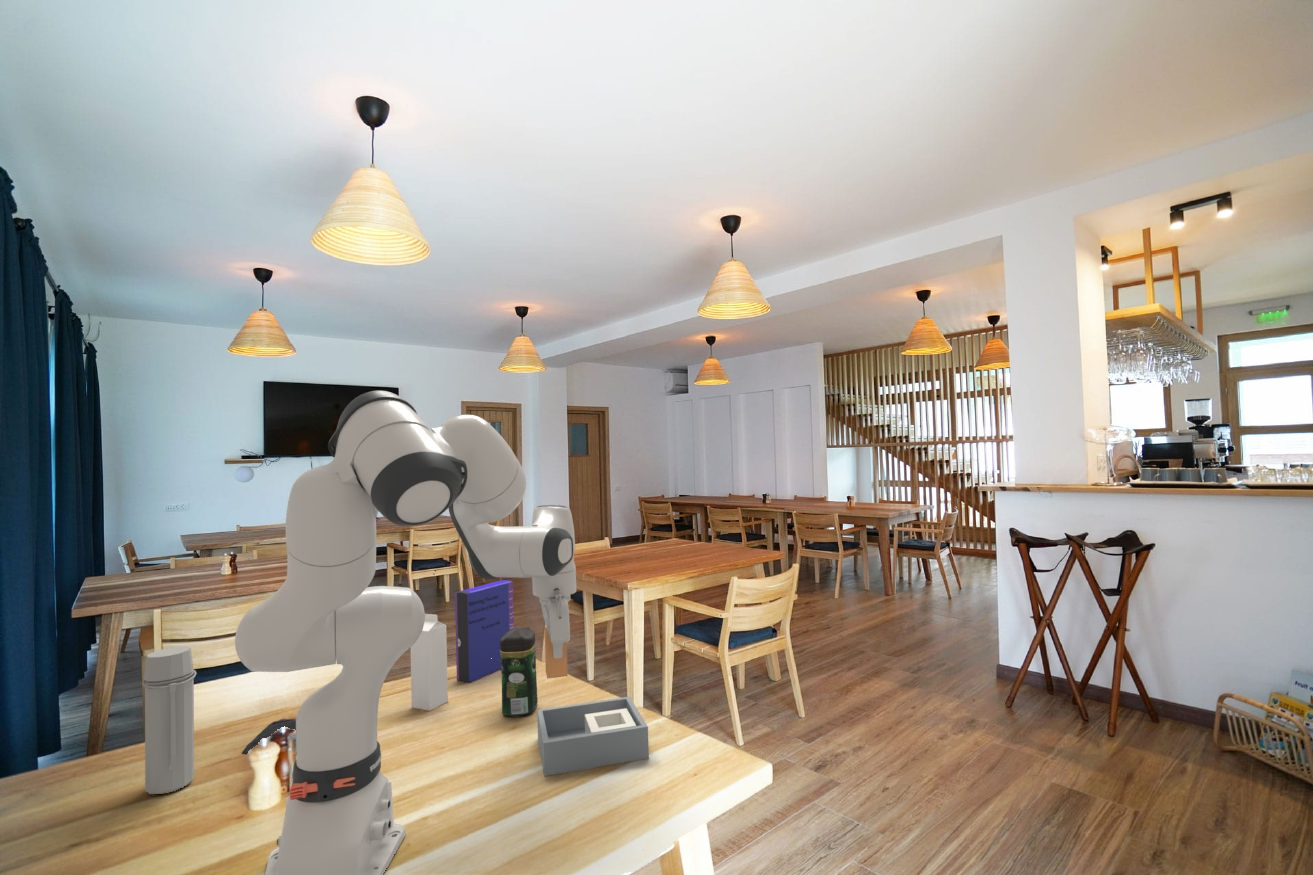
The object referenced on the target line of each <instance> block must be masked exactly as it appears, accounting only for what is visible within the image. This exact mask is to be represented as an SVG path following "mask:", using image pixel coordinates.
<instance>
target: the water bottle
mask: <svg viewBox="0 0 1313 875" xmlns="http://www.w3.org/2000/svg"><path fill="white" fill-rule="evenodd" d="M143 675H144V676H143V681H142V682H141V684H142V686H143V687H144V698H145V699H144V754H145V756H144V776H145V777H144V780H145V781H144V786H145V787H144V789H145V790H144V791H145V792H146V793H147V792H148V793H147V794H149V795H151V794H164V793H167V792H172V793H174V792H177V791H178V789H179V790H181V789H180V788H182V789H183V788H185V787H187V786H188V785H189V784H190V783H191V782H192V781H193V779H194V777H195V715H194V714H195V711H194V710H195V706H194V705H195V703H194V702H195V701H194V700H195V697H194V696H195V693H194V690H195V689H194V688H195V687H194V684H195V683H194V682H195V681H194V679H195V678H196V675H197V671H196V669H194V663H193V656H192V649H191V647H190V646H175V647H168V648H164V649H159V650H156V651H153V652H150V653H148V654H147V655H146V658H145V665H144V674H143ZM184 786H185V787H184ZM176 790H177V791H176ZM173 791H174V792H173ZM164 795H165V794H164Z"/></svg>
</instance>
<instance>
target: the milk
mask: <svg viewBox="0 0 1313 875" xmlns="http://www.w3.org/2000/svg"><path fill="white" fill-rule="evenodd" d="M447 640H448V639H447V625H446V623H443V622H440V621H439V620H438V614H433V613H430V614H429V613H425V621H424V626H423V629H422V632H421V634H420V636H419V638H418V639H417V641H416V642H415V643H414V644H413V645H412V646H411V647H410V681H411V682H410V686H411V689H410V690H411V691H410V692H411V695H410V696H411V708H412V709H418V710H423V711H429V712H431V711H433V710H434V709H436V708H438V707H440V706H442V705H444V704H446V703H448V702H449V694H448V693H449V691H448V690H449V689H448V685H449V684H448V651H447V650H448V646H447V642H448V641H447Z"/></svg>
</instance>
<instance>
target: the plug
mask: <svg viewBox="0 0 1313 875" xmlns="http://www.w3.org/2000/svg"><path fill="white" fill-rule="evenodd" d="M567 646H568V642H566V643H563V656H562V658H556V659H555V658H554V657H553V644H552V643H551V640H550V637H549V634H548V630H547V627H546V626H544V653H545V654H544V656H545V660H544V661H545V674H546V678H547V679H554V678H562V677H568V674H569V672H568V647H567Z"/></svg>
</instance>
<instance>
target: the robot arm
mask: <svg viewBox="0 0 1313 875" xmlns="http://www.w3.org/2000/svg"><path fill="white" fill-rule="evenodd" d="M335 429H336V430H335V431H334V432H333V434H332V435H331V437H330V439H329V441H328V444H327V448H328V451H329V453H330V455H331V456H332V457H333V460H331V461H330V462H329V463H327V464H323V465H319V466H316V467H313V468H311V469H308V470H306V471H305V472H304V473H302V474H301V475H300V476H299V477H297V479H296V480H295V482H294V483H293V484H292V486H291V489H290V493H289V497H288V500H287V506H286V507H287V508H286V513H285V514H286V515H285V516H286V517H285V543H286V544H285V545H286V554H287V555H286V557H287V559H286V561H287V568H286V577H285V580H284V582H283V584H281V586H280V588H279V589H278V590H277V591H276V592H274V593H273V594H272V595H270V596H269V597H268V598H266V599H264V600H263V601H261V602H259V603H257V604H255V605H253V606H252V607H251V608H249V610H248V611H247V612H246V613H245V614H244V615H243V617H242V618H241V620H240V622H239V623H238V626H237V629H236V632H235V636H234V637H235V638H234V644H235V645H234V646H235V647H234V649H235V652H236V654H237V657H238V659H239V660H240V662H241V663H242V664H243V666H245V667H246V668H247V669H248V670H249V671H251V672H254V673H255V672H259V673H260V672H261V673H288V672H295V671H301V670H308V669H309V670H310V669H314V668H319V667H326V666H332V665H341V666H342V670H341V671H340V673H339V674H338V675H337V676H336V677H335V678H334V679H332V680H331V681H329V682H328V683H327V684H325V685H323V686H321V687H320V688H319V689H317V690H316V691H313V693H311V694H310V695H309V696H308V697H307V698H306V699H305V700H304V701H303V702H302V703H301V704H300V707H299V708H298V710H297V713H296V716H295V719H296V755H295V756H296V760H295V761H294V762H293V768H292V773H291V786H290V788H289V789H290V790H289V795H288V797H286V798H285V813H284V817H283V825H282V830H281V835H279V836H278V837H277V840H276V846H277V847H276V848H274V849H273V850H272V851H271V852H270V853H269V855H268V859H267V864H266V868H265V871H264V872H265V874H264V875H383V873H384V872H385V873H386V871H385V870H387V869H388V867H389V865H390V864H391V862H392V860H393V858H394V856H395V855H396V853H397V852H398V851H397V850H398V849H399V848H400V845H401V843H402V842H403V840H404V838H405V836H406V828H405V826H404V825H402V824H398V823H395V821H394V817H395V816H394V805H393V804H394V803H393V788H392V781H391V780H390V779H388V778H387V777H386V776H385V775H384V774H383V773H382V772H381V768H382V751H381V744H380V742H379V741H378V715H379V701H380V696H381V695H380V694H381V691H382V689H383V685H384V682H385V680H386V678H387V676H388V674H389V673H390V671H391V669H392V668H393V667H394V665H395V664H396V662H397V661H398V660H399V659H400V658H401V657H402V656H403V654H404V653H405V652H407V651H408V650H409V649H411V646H412V645H413V644H414V643H415V642H416V641H417V639H418V638H419V636H420V634H421V632H422V629H423V626H424V621H425V614H426V612H425V607H424V603H423V602H422V600H421V598H420V597H419V595H418V594H417V593H416V592H415V591H414V589H411V588H410V587H404V586H403V587H402V586H390V585H378V586H377V585H376V586H370V583H371V582H372V581H373V579H374V576H375V574H376V569H377V567H376V566H377V519H376V518H377V517H378V514H379V513H380V514H381V515H382V517H384V518H385V519H387V521H389V522H390V523H392V524H395V525H396V526H401V527H414V526H418V525H419V526H420V525H423V524H427V523H429V522H431V521H433V520H435V519H437V518H438V517H440V516H441V515H442V514H444V513H445V512H446V511H447V510H448V512H449V516H450V518H451V521H452V524H453V526H454V528H455V529H456V532H457V534H458V535H459V537H460V539H461V542H462V543H463V545H464V547H465V549H466V551H467V554H468V559H469V560H468V562H469V563H470V564H469V565H470V566H471V568H472V570H473V571H474V572H475V573H476V574H477V575H478V576H479V577H480V578H481V579H483V580H493V579H503V578H507V579H509V578H516V579H517V578H519V579H520V578H521V579H522V578H523V579H525V578H527V579H528V578H529V579H530V578H531V579H532V580H531V582H532V583H531V585H532V586H531V587H532V595H533V596H534V597H538V602H539V603H540V605H541V613H542V618H543V621H544V624H545V627H547V630H548V634H549V637H550V640H551V643H552V644H553V657H554V658H555V659H556V658H562V656H563V643H566V642H567V643H569V642H570V639H571V627H570V625H571V624H570V609H569V603H568V602H570V601H571V598H572V597H571V595H574V594H575V593H577V566H576V562H575V559H574V554H575V549H576V539H575V537H576V535H575V526H574V520H573V516H572V511H571V509H570V507H567V506H565V505H560V504H559V505H557V504H556V505H555V504H544V505H543V504H542V505H538V506H536V507H534V508H533V512H532V520H531V525H529V526H527V525H526V526H525V525H524V526H523V525H522V526H516V525H515V526H497V525H492V524H489V523H495V522H498V521H500V520H504V519H505V518H506V517H508V516H509V515H511V513H513V512H514V511H515V510H516V509H517V508H518V506H519V505H520V503H521V502H522V500H523V498H524V495H525V493H526V488H527V481H526V480H527V479H526V475H525V471H524V468H523V466H522V465H521V463H520V461H519V460H518V457H517V456H516V454H515V453H514V451H513V449H512V448H511V447H510V445H509V444H508V443H507V441H506V439H504V438H503V436H502V435H501V434H500V433H499V432H498V431H497V429H495V427H493V426H492V425H491V424H490V423H489V422H488V421H487V420H486V419H484V418H482V417H480V416H477V415H475V414H461V415H457V416H456V415H455V416H453V417H451V418H449V419H448V420H446V421H444V422H443V423H442V424H441V425H440V426H439V427H432V428H431V429H430V427H429V426H428V425H427V423H426V422H425V420H424V419H422V418H421V417H420V416H419V414H418V412H417V411H416V409H415V407H414V406H413V405H412V404H410V402H408V401H407V400H406V399H404V398H403V397H401V396H400V395H399V394H396V393H393V392H390V391H387V390H372V391H368V392H364V393H362V394H360V395H358V396H356V397H355V398H354V399H352V400H351V401H350V402H349V403H348V404H347V405H346V407H344V409H343V411H342V413H341V415H340V416H339V419H338V423H337V426H336V428H335ZM394 854H395V855H394ZM386 868H387V869H386ZM385 873H384V874H385Z"/></svg>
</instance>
